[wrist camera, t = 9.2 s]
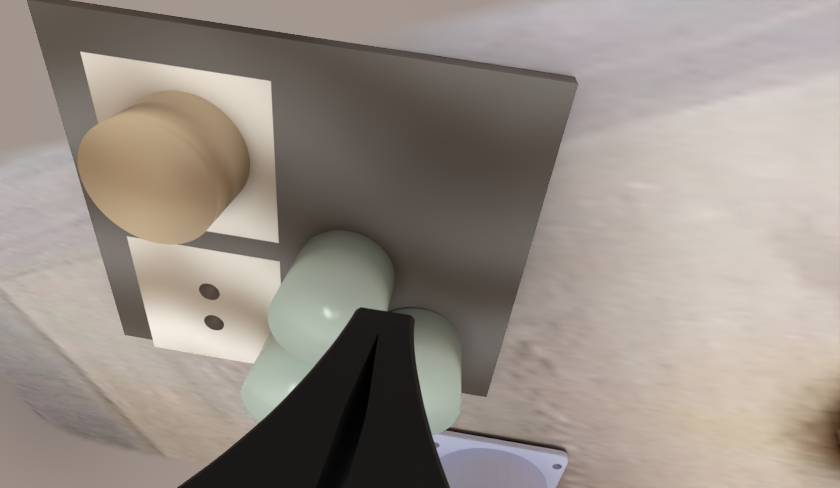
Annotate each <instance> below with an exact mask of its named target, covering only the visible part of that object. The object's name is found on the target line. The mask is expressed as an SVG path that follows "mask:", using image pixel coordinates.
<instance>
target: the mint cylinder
mask: <svg viewBox="0 0 840 488" xmlns="http://www.w3.org/2000/svg"><path fill="white" fill-rule="evenodd" d="M394 284H395V270H394V266H393V264H392V261H391V259H390V258H389V256H388V254H387V253H386V252H385V251H384V250H383V249H382V248H381V247H380V246H379V245H378V244H377V243H375V242H374V241H373V240H371V239H369V238H368V237H365V236H363V235H361V234H358V233H355V232H351V231H344V230H333V231H327V232H323V233H320V234H317V235H315V236H314V237H312V238H311V239H309V240H308V241H307V242H306V243H305V244H304V245H303V247H302V248H301V250H300V252H299V254H298V255H297V257H296V259H295V261H294V263H293V264H292V266H291V268H290V270H289V271H288V273H287V275H286V277H285V278H284V280H283V282H282V284H281V285H280V287H279V289H278V291H277V293H276V294H275V296H274V298H273V300H272V301H271V303H270V306H269V309H268V324H269V328H270V330H271V333H272V335H273V336H274V338H275V339H276V341H277V342H278V343H279V344H280V345H281V346H282V347H283V348H284V349H285V350H286V351H287V352H288V353H290V354H291V355H292V356H294V357H296V358H297V359H299V360H301V361H303V362H306V363H308V364H311V365H314V366H315V365H316V364H317V362H318V361H319V360H320V359H321V357H322V356H323V355H324V354H325V353H326V351H327V350H328V349H329V348H330V347H331V345H332V344H333V343H334V341H335V340H336V339H337V337H338V336H339V335H340V333H341V332H342V330H343V329H344V328H345V326H346V325H347V323H348V322H349V320H350V319H351V317H352V316H353V314H354V312H355V310H357V309H358V308H360V307H362V308H369V309H375V310H382V311H388V308H389V304H390V300H391V296H392V292H393V288H394Z"/></svg>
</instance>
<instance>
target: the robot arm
mask: <svg viewBox="0 0 840 488" xmlns="http://www.w3.org/2000/svg"><path fill="white" fill-rule="evenodd" d="M414 325H415V319H414V318H413V317H412V316H411V315H407V314H401V313H394V312H388V311H382V310H375V309H369V308H362V307H360V308H358V309H357V310H355V312H354V314H353V316H352V317H351V319H350V320H349V322H348V323H347V325H346V326H345V328H344V329H343V330H342V332H341V333H340V335H339V336H338V337H337V339H336V340H335V341H334V343H333V344H332V345H331V347H330V348H329V349H328V350H327V351H326V353H325V354H324V355H323V356H322V357H321V359H320V360H319V361H318V362H317V364H316V365H315V366H314V367H313V368H312V370H311V371H310V372H309V373H308V374H307V375H306V376H305V377H304V378H303V379H302V381H301V382H300V383H299V384H298V385H297V386H296V387H295V388H294V389H293V390H292V391H291V392H290V393H289V394H288V396H287V397H286V398H285V399H284V400H283V401H282V402H281V403H280V404H279V405H278V406H277V407H276V408H275V409H273V410H272V411H271V412H270V413H269V414H268V415H267V416H266V417H265V418H264V419H263V420H262V421H261V422H260V423H258V424H257V425H256V426H255V427H254V428H253V429H252V430H251V431H250V432H248V433H247V434H246V435H245V436H244V437H242V438H241V439H240V440H239V441H238V442H236V443H235V444H234V445H233V446H232V447H231V448H229V449H228V450H227V451H226V452H224V453H223V454H222V455H221V456H219V457H218V458H217V459H216V460H214V461H213V462H212V463H210V464H209V465H208V466H206V467H205V468H204V469H202V470H201V471H200V472H198V473H197V474H195V475H194V476H193V477H191V478H190V479H189V480H187V481H186V482H184V483H183V484H182V485H180V486H179V487H178V488H556V486H557V484H558V482H559V480H560V478H561V476H562V474H563V472H564V470H565V468H566V466H567V464H568V461H569V460H568V455H567V453H566V452H564V451H561V450H555V449H550V448H544V447H538V446H532V445H527V444H521V443H515V442H510V441H504V440H498V439H492V438H487V437H481V436H475V435H469V434H464V433H458V432H452V431H446V430H445V431H443V432H441V433H438V434H436V435H432V433H431V430H430V426H429V422H428V419H427V415H426V411H425V407H424V403H423V398H422V394H421V389H420V383H419V378H418V372H417V366H416V358H415V348H414Z"/></svg>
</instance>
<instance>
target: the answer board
mask: <svg viewBox="0 0 840 488" xmlns="http://www.w3.org/2000/svg"><path fill="white" fill-rule="evenodd" d="M27 2H28V6H29V9H30V13H31V16H32V19H33V23H34V26H35V30H36V33H37V37H38V40H39V43H40V47H41V50H42V53H43V57H44V60H45V64H46V67H47V71H48V74H49V77H50V81H51V84H52V88H53V91H54V94H55V98H56V101H57V105H58V108H59V112H60V115H61V118H62V121H63V125H64V129H65V132H66V135H67V139H68V142H69V146H70V149H71V152H72V156H73V159H74V163H75V166H76V170H77V173H78V176H79V180H80V183H81V187H82V190H83V193H84V197H85V200H86V204H87V207H88V210H89V214H90V217H91V221H92V224H93V228H94V231H95V234H96V238H97V241H98V245H99V248H100V251H101V255H102V258H103V262H104V265H105V268H106V272H107V275H108V279H109V282H110V285H111V289H112V292H113V296H114V299H115V303H116V306H117V309H118V313H119V316H120V320H121V323H122V326H123V330H124V333H125V335H129V336H135V337H140V338H146V339H152V340H153V342H154V346H155V347H160V348H166V349H171V350H177V351H183V352H189V353H195V354H200V355H206V356H212V357H218V358H224V359H229V360H235V361H241V362H247V363H253V364H254V362H255V360H256V358H257V357H258V355H259V353H260V351H261V349H262V347H263V345H264V343H265V341H266V339H267V337H268V335H269V333H270V331H271V330H270V328H269V324H268V309H269V306H270V303H271V301H272V300H273V298H274V296H275V294H276V293H277V291H278V289H279V287H280V285H281V284H282V282H283V280H284V278H285V277H286V275H287V273H288V271H289V270H290V268H291V266H292V264H293V263H294V261H295V259H296V257H297V255H298V254H299V252H300V250H301V248H302V247H303V245H304V244H305V243H306V242H307V241H308V240H309V239H311V238H312V237H314V236H315V235H317V234H320V233H323V232H327V231H333V230H344V231H351V232H355V233H358V234H361V235H363V236H365V237H368V238H369V239H371V240H373V241H374V242H375V243H377V244H378V245H379V246H380V247H381V248H382V249H383V250H384V251H385V252H386V253H387V254H388V256H389V258H390V259H391V261H392V264H393V266H394V270H395V284H394V288H393V292H392V296H391V300H390V304H389V308H388V312H392V311H395V310H399V309H405V308H419V309H425V310H429V311H432V312H435V313H437V314H439V315H441V316H443V317H445V318H446V319H447V320H449V321H450V322H451V323H452V324H453V325H454V326H455V328H456V329H457V331H458V333H459V335H460V338H461V393H466V394H472V395H478V396H484V397H486V396H487V393H488V389H489V386H490V383H491V379H492V376H493V372H494V369H495V365H496V362H497V359H498V355H499V352H500V348H501V345H502V342H503V338H504V335H505V331H506V328H507V324H508V321H509V318H510V314H511V311H512V307H513V304H514V301H515V297H516V294H517V290H518V287H519V284H520V280H521V277H522V273H523V270H524V266H525V263H526V260H527V256H528V253H529V249H530V246H531V243H532V239H533V236H534V232H535V229H536V225H537V222H538V219H539V215H540V212H541V208H542V205H543V202H544V198H545V195H546V191H547V188H548V184H549V181H550V178H551V174H552V171H553V167H554V164H555V161H556V157H557V154H558V150H559V147H560V143H561V140H562V137H563V133H564V130H565V126H566V123H567V120H568V116H569V113H570V109H571V106H572V103H573V99H574V96H575V92H576V89H577V85H578V83H577V81H576V79H575V77H571V76H564V75H558V74H551V73H545V72H538V71H531V70H525V69H518V68H512V67H505V66H499V65H492V64H485V63H479V62H472V61H466V60H459V59H452V58H446V57H439V56H433V55H426V54H419V53H413V52H406V51H400V50H393V49H387V48H380V47H373V46H367V45H360V44H354V43H347V42H340V41H334V40H327V39H321V38H314V37H307V36H301V35H294V34H288V33H281V32H274V31H268V30H261V29H255V28H248V27H242V26H235V25H228V24H222V23H215V22H209V21H202V20H195V19H188V18H182V17H176V16H169V15H162V14H156V13H149V12H143V11H136V10H130V9H123V8H116V7H110V6H103V5H97V4H89V3H84V2H76V1H70V0H27ZM161 91H182V92H187V93H190V94H194V95H196V96H199V97H201V98H203V99H205V100H207V101H209V102H210V103H212V104H213V105H215V106H216V107H218V108H219V109H220V110H221V111H222V112H224V113H225V114H226V115H227V116H228V117H229V118H230V119H231V120H232V122H233V123H234V124H235V126H236V127H237V128H238V130H239V132H240V133H241V135H242V137H243V139H244V141H245V143H246V146H247V149H248V153H249V158H250V172H249V177H248V180H247V182H246V185H245V186H244V188H243V189H242V191H241V192H240V193H239V194H238V195H237V196H236V198H235V199H234V200H233V201H232V202H231V203H230V204H229V205H228V207H227V208H226V209H225V210H224V211H223V212H222V213H221V215H220V216H219V217H218V218H217V219H216V220H215V221H214V223H213V224H212V225H211V226H210V227H209V228H208V229H207V230H206V232H205V233H204V234H202V235H201V236H200V237H198V238H197V239H195V240H193V241H190V242H187V243H183V244H174V245H168V244H159V243H154V242H150V241H147V240H144V239H141V238H139V237H136V236H134V235H132V234H130V233H129V232H127V231H125V230H123V229H122V228H120V227H119V226H118V225H116V224H115V223H113V222H112V221H111V220H110V219H109V218H108V217H106V216H105V214H104V213H103V212H102V211H101V210H100V209H99V208H98V207H97V206H96V205H95V203H94V202H93V201H92V199H91V198H90V196H89V195H88V193H87V191H86V189H85V187H84V185H83V182H82V180H81V177H80V173H79V169H78V150H79V146H80V143H81V141H82V139H83V137H84V136H85V134H86V133H87V132H88V131H89V130H90V129H91V128H93V127H94V126H95V125H97V124H99V123H101V122H103V121H104V120H106V119H108V118H110V117H112V116H113V115H115V114H117V113H119V112H121V111H123V110H124V109H126V108H128V107H130V106H132V105H133V104H135V103H137V102H139V101H141V100H143V99H144V98H146V97H148V96H150V95H152V94H154V93H158V92H161Z"/></svg>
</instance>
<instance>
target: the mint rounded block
mask: <svg viewBox="0 0 840 488" xmlns="http://www.w3.org/2000/svg"><path fill="white" fill-rule="evenodd" d="M313 367H314V365H311V364H308V363H306V362H303V361H301V360H299V359H297V358H296V357H294V356H292V355H291V354H290V353H288V352H287V351H286V350H285V349H284V348H283V347H282V346H281V345H280V344H279V343H278V342H277V341H276V339H275V338H274V336H273V335H272V333H271V331H270V333H269V335H268V337H267V339H266V341H265V343H264V345H263V347H262V349H261V351H260V353H259V355H258V357H257V358H256V360H255V362H254V364H253V366H252V368H251V370H250V372H249V374H248V376H247V378H246V380H245V382H244V384H243V386H242V388H241V393H240V395H241V401H242V404H243V406H244V408H245V410H246V411H247V412H248V413H249V415H250V416H251V417H252V418H253V419H255V420H256V421H257V422H258V423H260V422H261V421H262V420H263V419H264V418H265V417H266V416H267V415H268V414H269V413H270V412H271V411H272V410H273V409H275V408H276V407H277V406H278V405H279V404H280V403H281V402H282V401H283V400H284V399H285V398H286V397H287V396H288V394H289V393H290V392H291V391H292V390H293V389H294V388H295V387H296V386H297V385H298V384H299V383H300V382H301V381H302V379H303V378H304V377H305V376H306V375H307V374H308V373H309V372H310V371H311V370H312V368H313Z"/></svg>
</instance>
